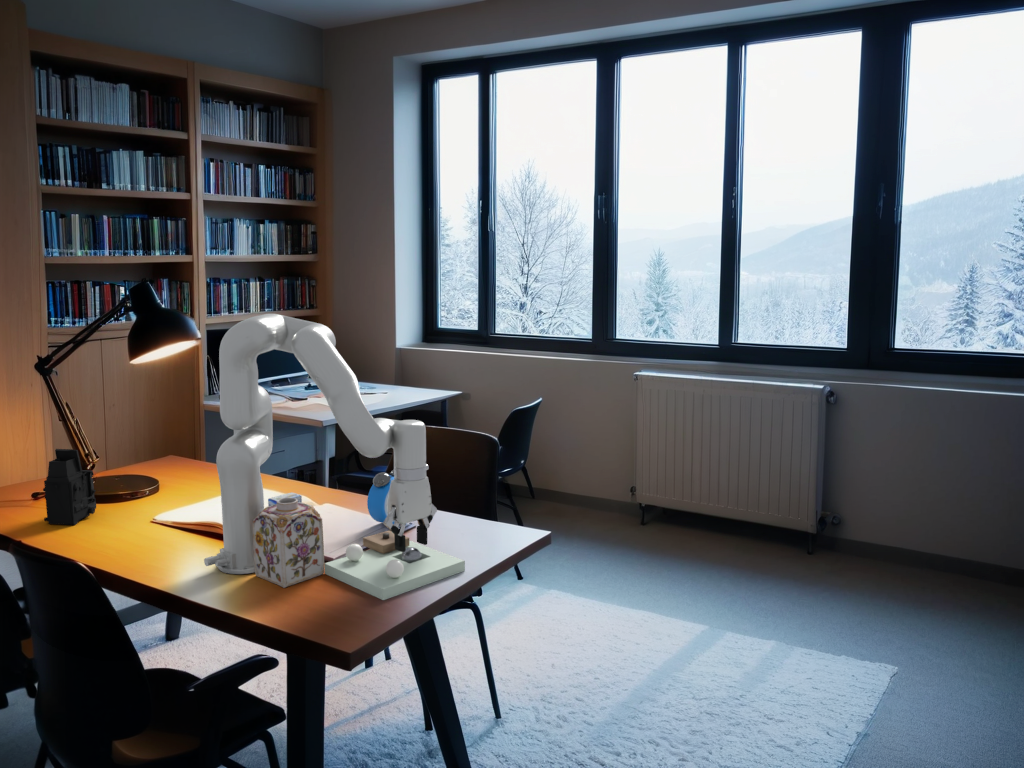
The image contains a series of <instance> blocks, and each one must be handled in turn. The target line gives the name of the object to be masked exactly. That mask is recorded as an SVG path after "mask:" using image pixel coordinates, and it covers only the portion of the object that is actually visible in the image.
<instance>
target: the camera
mask: <svg viewBox="0 0 1024 768" xmlns="http://www.w3.org/2000/svg"><path fill="white" fill-rule="evenodd" d="M54 453H55V457H56V458H55V459H54V460H53V459H52V460H49V461H48V468H47V469H48V471H47V476H46V478H45V480H44V481H43V482H44V483H43V484H44V487H43V488H42V491H43V492H44V499H45V506H46V507H45V508H46V509H45V510H46V516H47V517H44V518H43V521H44V522H47V523H48V524H49V525H64V526H65V525H67V526H76V525H78V523H79V522H81V520H84V519H85V518H87V517H89V516H90V515H94V514H95V511H96V509H97V502H96V497H95V493H96V489H95V487H94V485H95V484H94V478H95V476H94V471H93V470H83V468H82V465H81V459H80V456H79V451H78V449H71V448H68V449H66V448H64V449H63V448H55V450H54Z"/></svg>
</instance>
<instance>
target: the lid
mask: <svg viewBox="0 0 1024 768" xmlns="http://www.w3.org/2000/svg"><path fill="white" fill-rule="evenodd" d="M409 540H410V537H408V536H406V535H405V545H406V546H409ZM362 546H363V547H366V548H367V549H369V550H370V549H373V550H375V551H378V552H380V553H383V554H384V553H387V552H390V551H394V550H396V549H395V537H394V534H393V533H392V531H390V530H389V529H388V530H385V531H382V532H378V533H376V534H371V535H369V536H365V537H363V538H362Z"/></svg>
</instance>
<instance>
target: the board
mask: <svg viewBox="0 0 1024 768" xmlns="http://www.w3.org/2000/svg"><path fill="white" fill-rule="evenodd" d="M409 547H414V548H417V549H418V550H419V551H420V552H421V555H422V560H419V561H416V562H413V563H407V562H405V561H402V560H401V554H402V552H401V551H398V550H394V551H390V552H387V553H384V554H383V553H380V552H378V551H375V550H373V549H370V548H369V549H367V550H363V555H362V557H361V558H360V559H359V560H357V561H351V560H349V559H348V558H347V556H344V557H340V558H338V559H337V558H336V559H334V560H331V561H328V562H324V575H327V576H329V577H331V578H334V579H336V580H338V581H340V582H342V583H344V584H347V585H349V586H351V587H353V588H356V589H357V590H359V591H362V592H364V593H366V594H368V595H370V596H372V597H375V598H378V599H380V600H382V601H386V600H388V599H390V598H394V597H396V596H400V595H402V594H405V593H407V592H409V591H413V590H416V589H418V588H422V587H424V586H427V585H430V584H432V583H435V582H437V581H438V582H439V581H440V580H443V579H447V578H448V577H451V576H454V575H457V574H460V573H462V572H465V571H466V561H465V560H464V559H461V558H459V557H455V556H453V555H450V554H448V553H445V552H442V551H440V550H437V549H434V548H432V547H429V546H427V545H423V544H421V543H418V542H416V541H413V540H410V539H409V546H406V549H407V548H409ZM391 560H399V561H400V562H401V563H402V564H403V566H404V571H403V573H402V575H401V576H400V577H398V578H391V577H389V576H388V575H387V573H386V565H387V563H388V562H389V561H391Z"/></svg>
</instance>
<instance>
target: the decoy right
mask: <svg viewBox="0 0 1024 768" xmlns="http://www.w3.org/2000/svg"><path fill="white" fill-rule="evenodd" d="M403 571H404V566H403V564H402V563H401V562H400V561H399V560H391V561H389V562H388V563H387V565H386V573H387V575H388V576H389V577H391V578H398V577H400V576H401V575H402V573H403Z"/></svg>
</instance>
